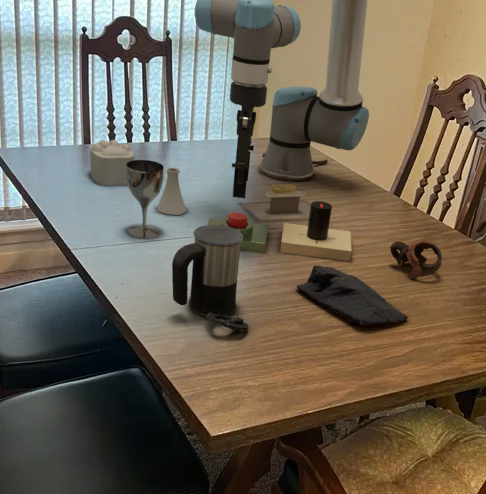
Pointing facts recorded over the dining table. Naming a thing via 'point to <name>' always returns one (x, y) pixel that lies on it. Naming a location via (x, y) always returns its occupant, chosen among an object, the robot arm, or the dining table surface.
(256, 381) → the dining table surface
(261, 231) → the button housing
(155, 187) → the wine glass
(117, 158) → the lumpy-topped squat cylinder
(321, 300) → the black cloth
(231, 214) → the button
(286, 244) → the timer panel
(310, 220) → the dial
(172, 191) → the flask
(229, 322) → the milk frother
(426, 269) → the coiled brown leather belt
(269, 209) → the platform
